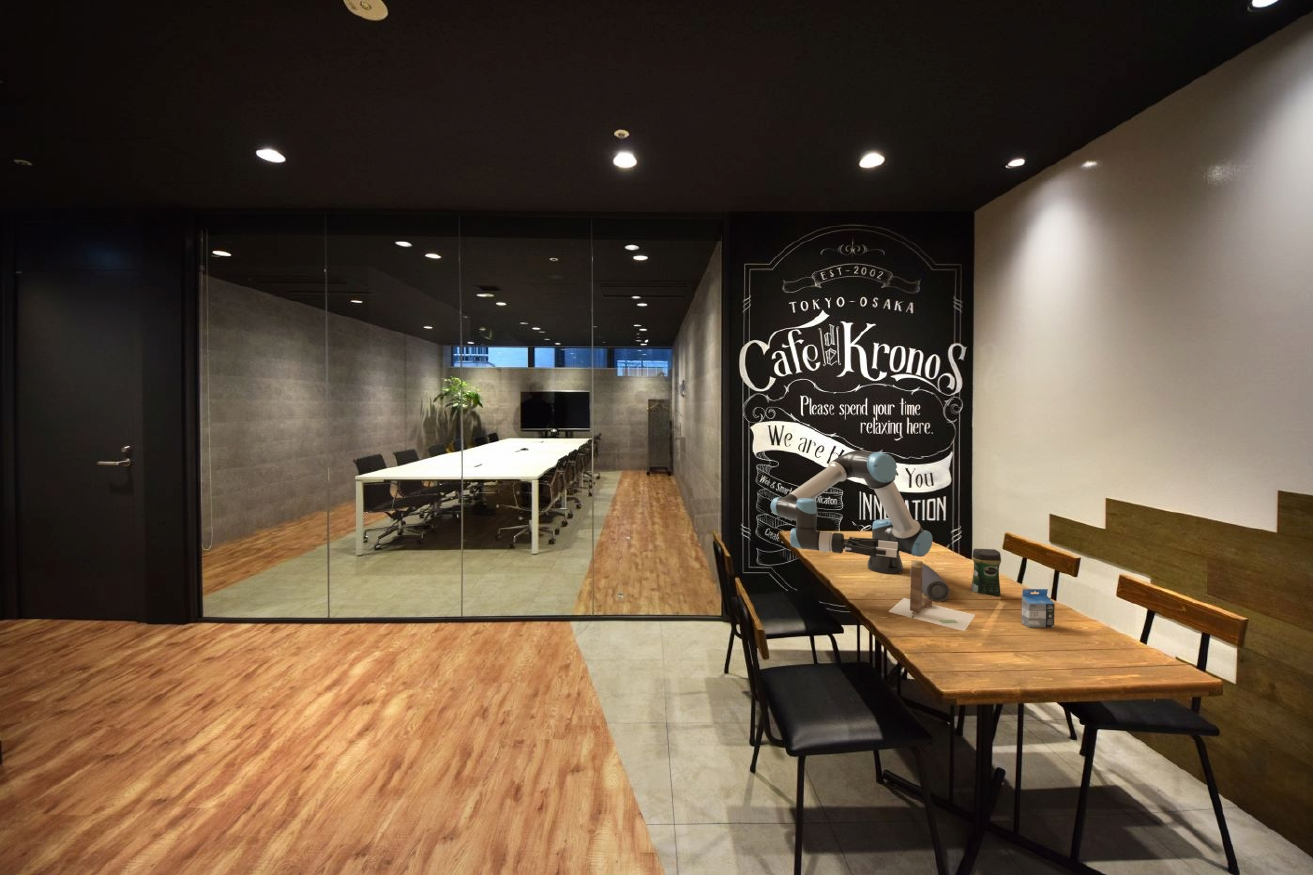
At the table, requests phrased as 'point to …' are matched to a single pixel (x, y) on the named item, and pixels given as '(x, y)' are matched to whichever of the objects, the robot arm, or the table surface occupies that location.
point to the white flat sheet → (935, 615)
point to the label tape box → (1037, 608)
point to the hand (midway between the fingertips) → (897, 549)
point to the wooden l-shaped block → (917, 588)
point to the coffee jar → (986, 572)
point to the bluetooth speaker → (934, 585)
